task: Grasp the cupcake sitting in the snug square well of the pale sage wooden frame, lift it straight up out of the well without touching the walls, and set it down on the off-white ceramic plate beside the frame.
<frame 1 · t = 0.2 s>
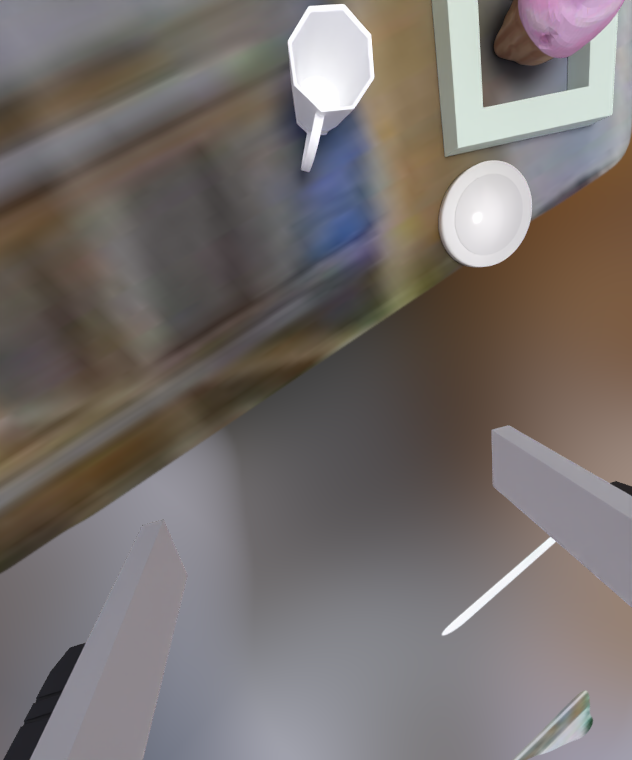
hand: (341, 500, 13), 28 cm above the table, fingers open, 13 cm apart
cup: (311, 129, 33), on the table
plate: (481, 217, 38), on the table
cupcake: (515, 41, 34), resting in frame
frame: (516, 40, 33), on the table
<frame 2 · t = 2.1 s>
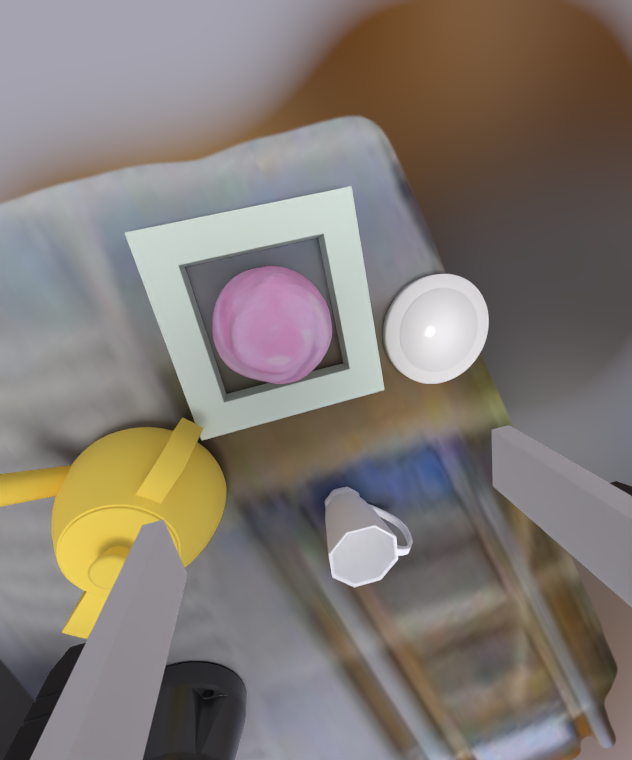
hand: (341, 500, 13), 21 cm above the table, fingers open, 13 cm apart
cup: (353, 503, 38), on the table
plate: (432, 329, 34), on the table
cupcake: (270, 318, 31), resting in frame
teapot: (136, 475, 33), on the table
frame: (270, 318, 30), on the table
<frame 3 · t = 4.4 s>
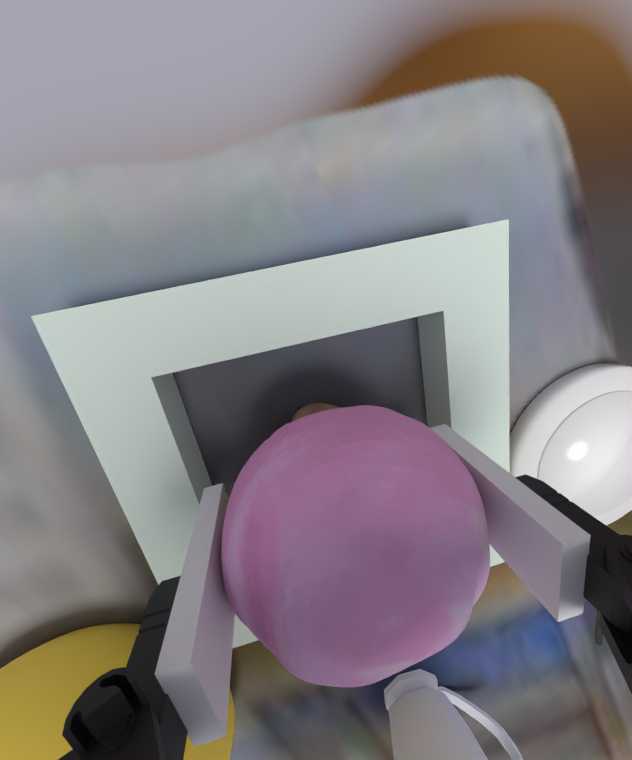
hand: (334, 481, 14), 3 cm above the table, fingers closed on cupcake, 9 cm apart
cup: (425, 686, 25), on the table
plate: (581, 448, 20), on the table
cupcake: (321, 441, 17), resting in frame, touching gripper
teapot: (85, 683, 20), on the table
frame: (320, 443, 17), on the table
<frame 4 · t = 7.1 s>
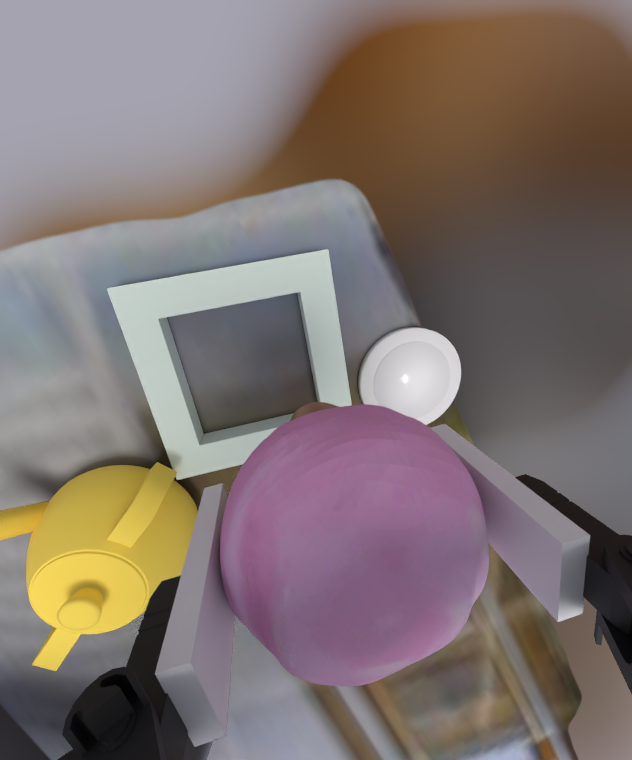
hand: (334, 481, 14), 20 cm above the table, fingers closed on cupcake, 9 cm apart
plate: (407, 378, 35), on the table
cupcake: (320, 440, 17), point 16 cm above the table, touching gripper
teapot: (114, 507, 34), on the table
frame: (248, 365, 32), on the table
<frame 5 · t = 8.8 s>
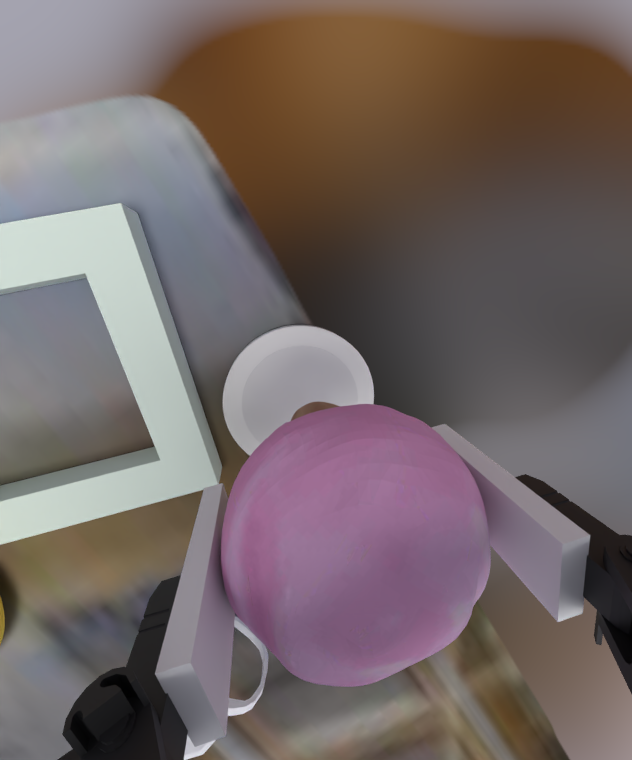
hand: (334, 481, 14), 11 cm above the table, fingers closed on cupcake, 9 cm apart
cup: (211, 611, 29), on the table
plate: (299, 397, 25), on the table
cupcake: (321, 440, 17), point 8 cm above the table, touching gripper
frame: (47, 386, 21), on the table
when the fingers open (6 cm above the table, at t = 9.9 s): cupcake drops 1 cm, resting on plate.
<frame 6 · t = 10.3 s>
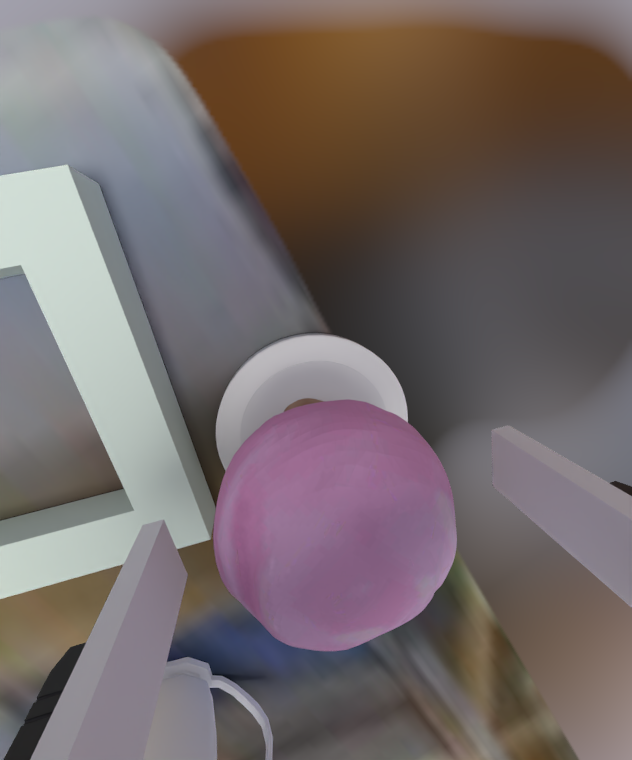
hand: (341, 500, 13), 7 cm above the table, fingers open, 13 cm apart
cup: (204, 675, 24), on the table
plate: (312, 424, 19), on the table
cupcake: (310, 435, 18), point 1 cm above the table, touching plate
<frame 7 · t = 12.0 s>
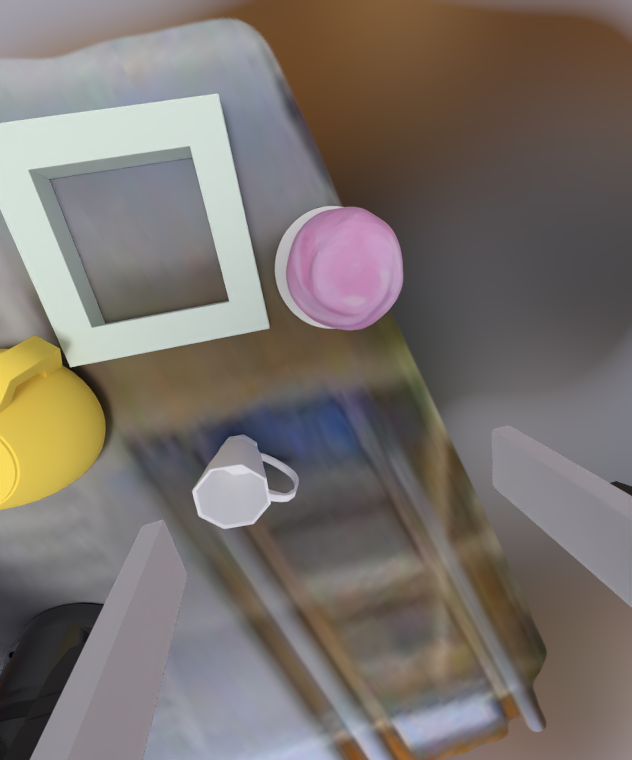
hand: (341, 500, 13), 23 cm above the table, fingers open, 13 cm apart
cup: (252, 453, 37), on the table
plate: (330, 270, 32), on the table
cupcake: (330, 272, 31), point 1 cm above the table, touching plate
teapot: (15, 404, 32), on the table
frame: (148, 244, 29), on the table
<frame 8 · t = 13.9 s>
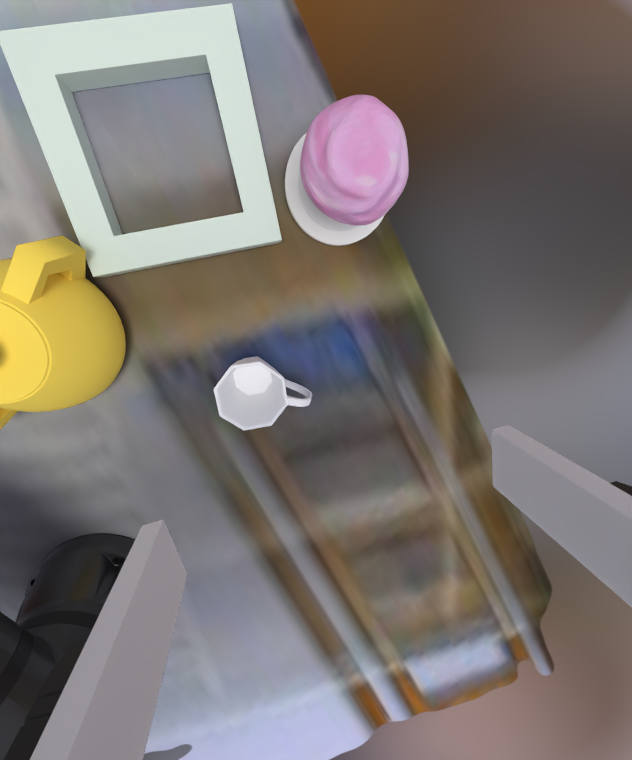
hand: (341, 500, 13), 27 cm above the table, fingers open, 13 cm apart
cup: (265, 376, 38), on the table
plate: (337, 189, 34), on the table
cupcake: (336, 187, 33), point 1 cm above the table, touching plate
teapot: (37, 323, 33), on the table
frame: (165, 159, 31), on the table
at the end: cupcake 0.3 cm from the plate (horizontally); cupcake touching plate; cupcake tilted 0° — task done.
